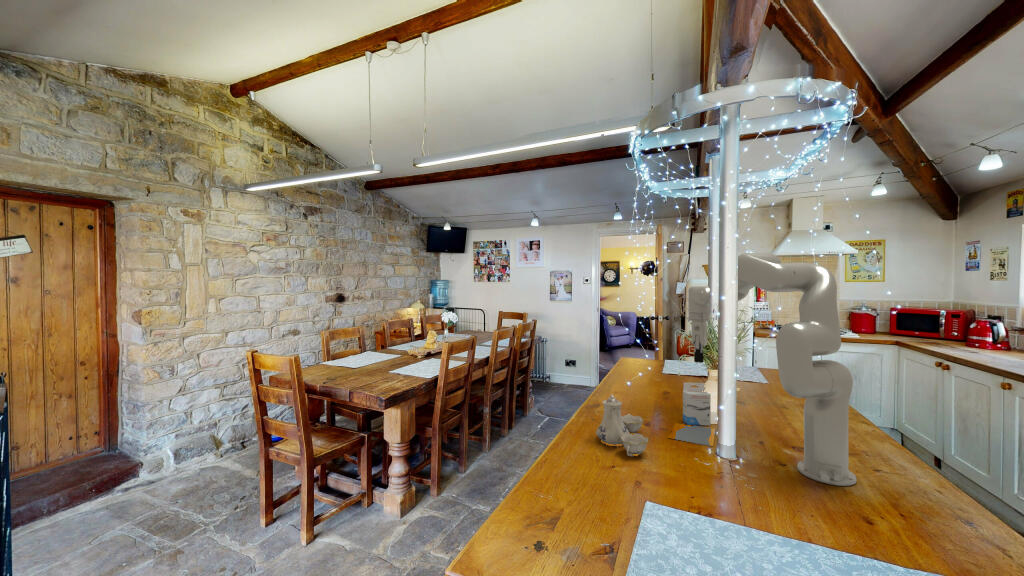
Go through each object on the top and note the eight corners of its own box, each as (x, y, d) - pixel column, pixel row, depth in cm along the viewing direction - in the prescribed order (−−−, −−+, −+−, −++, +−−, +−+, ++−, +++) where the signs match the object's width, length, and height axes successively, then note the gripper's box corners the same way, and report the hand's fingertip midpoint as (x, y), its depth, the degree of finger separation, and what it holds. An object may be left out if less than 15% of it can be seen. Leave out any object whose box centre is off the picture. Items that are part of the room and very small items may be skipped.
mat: (713, 447, 125) (713, 446, 125) (667, 438, 132) (667, 437, 132) (716, 429, 139) (716, 429, 139) (675, 423, 146) (675, 422, 146)
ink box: (687, 425, 143) (686, 385, 143) (682, 420, 148) (682, 382, 148) (711, 425, 142) (710, 385, 142) (705, 421, 147) (705, 382, 147)
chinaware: (655, 468, 115) (660, 413, 114) (598, 459, 117) (603, 406, 117) (638, 431, 143) (642, 387, 142) (593, 425, 145) (597, 382, 145)
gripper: (707, 319, 146) (707, 367, 147) (710, 315, 159) (710, 359, 159) (685, 318, 150) (686, 364, 151) (691, 314, 163) (691, 357, 163)
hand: (698, 361), depth 155 cm, fingers closed
